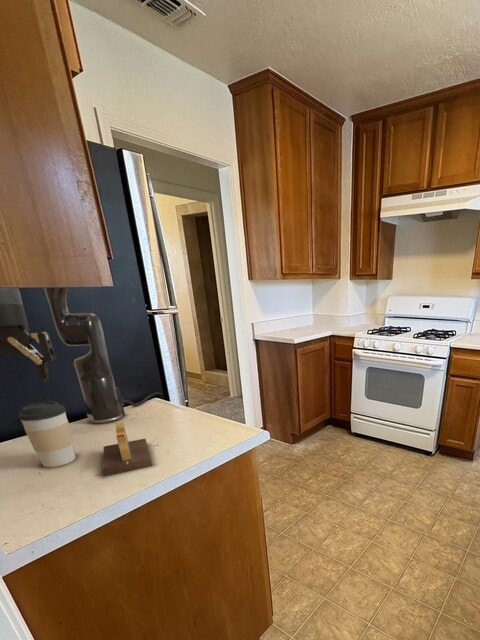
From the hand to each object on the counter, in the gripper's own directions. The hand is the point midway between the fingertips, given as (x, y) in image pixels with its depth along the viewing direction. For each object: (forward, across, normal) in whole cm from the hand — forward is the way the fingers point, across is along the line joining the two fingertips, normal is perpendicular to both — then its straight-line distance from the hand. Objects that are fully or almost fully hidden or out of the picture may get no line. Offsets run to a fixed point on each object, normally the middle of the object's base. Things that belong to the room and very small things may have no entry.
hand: (20, 382), depth 76 cm
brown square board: (+21, -17, -2) cm, 27 cm away
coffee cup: (+21, -1, -7) cm, 22 cm away
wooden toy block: (+19, -17, -1) cm, 25 cm away
